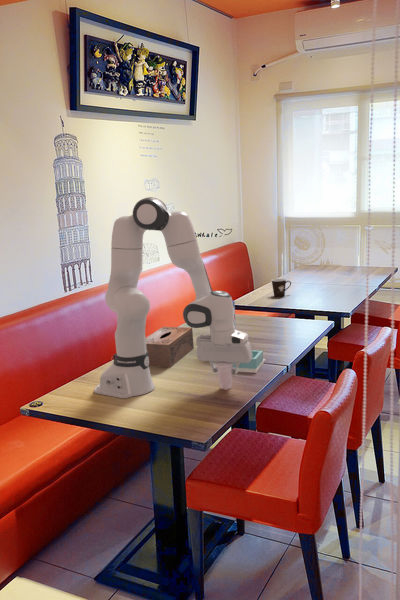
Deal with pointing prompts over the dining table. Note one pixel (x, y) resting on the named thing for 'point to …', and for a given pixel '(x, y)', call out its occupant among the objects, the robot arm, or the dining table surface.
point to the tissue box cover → (169, 345)
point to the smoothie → (225, 374)
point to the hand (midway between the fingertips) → (225, 372)
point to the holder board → (252, 363)
